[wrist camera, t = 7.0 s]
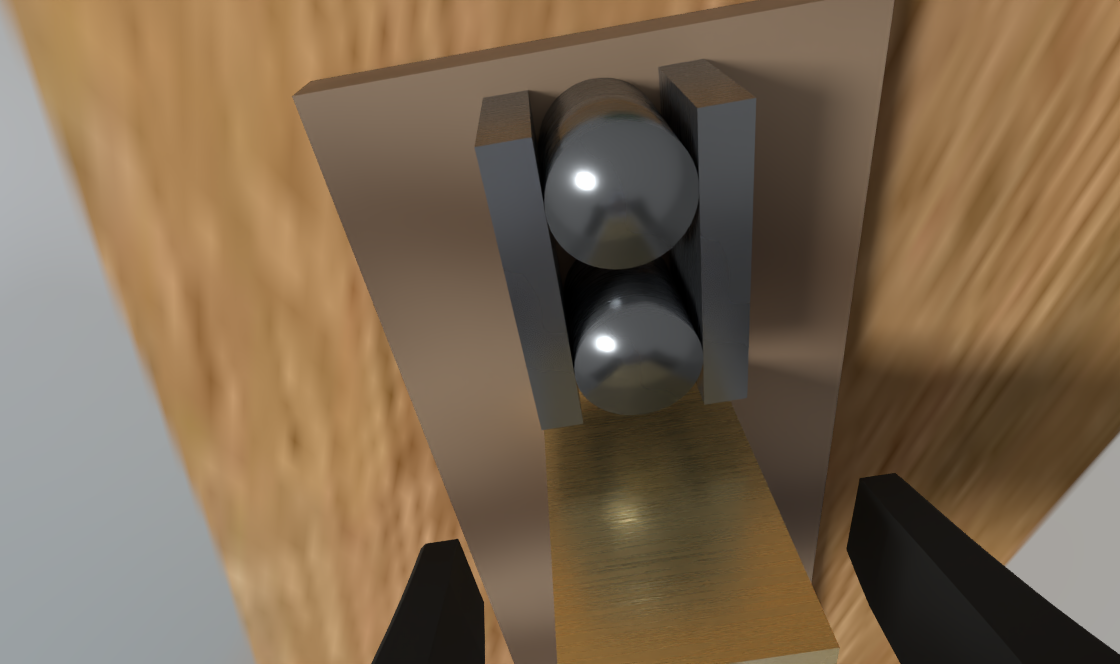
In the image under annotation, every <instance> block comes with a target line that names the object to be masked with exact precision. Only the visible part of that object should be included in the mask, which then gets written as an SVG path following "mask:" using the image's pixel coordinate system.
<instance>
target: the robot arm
mask: <svg viewBox="0 0 1120 664" xmlns="http://www.w3.org/2000/svg"><path fill="white" fill-rule="evenodd" d="M847 552H848V554H849V557H850V560H851V562H852V565H853V567H854V570H855V572H856V575H857V577H858V580H859V582H860V584H861V587H862V589H863V592H864V594H865V596H866V599H867V601H868V603H869V606H870V608H871V610H872V612H873V613H874V615H875V617H876V619H877V621H878V623H879V625H880V627H881V628H882V630H883V632H884V634H885V636H886V638H887V640H888V641H889V643H890V645H891V647H892V649H893V651H894V652H895V654H896V656H897V658H898V660H899V662H900V663H901V664H1120V654H1118V653H1117V652H1116V651H1114V650H1113V649H1111V648H1110V647H1109V646H1107V645H1106V644H1105V643H1103V642H1102V641H1100V640H1099V639H1098V638H1096V637H1095V636H1094V635H1092V634H1091V633H1090V632H1088V631H1087V630H1086V629H1084V628H1083V627H1082V626H1080V625H1079V624H1077V623H1076V622H1075V621H1074V620H1072V619H1071V618H1070V617H1068V616H1067V615H1065V614H1064V613H1063V612H1062V611H1060V610H1059V609H1057V608H1056V607H1055V606H1053V605H1052V604H1051V603H1050V602H1048V601H1047V600H1046V599H1045V598H1043V597H1042V596H1041V595H1040V594H1038V593H1037V592H1035V590H1033V589H1032V588H1031V587H1029V586H1028V585H1027V584H1026V583H1024V582H1023V581H1022V580H1021V579H1020V578H1018V577H1017V576H1016V575H1014V573H1012V572H1011V571H1010V570H1009V569H1007V568H1006V567H1005V566H1004V565H1002V564H1001V563H1000V562H999V561H997V560H996V559H995V558H994V557H993V556H991V555H990V554H989V553H988V552H987V551H985V550H984V549H983V548H982V547H981V546H979V545H978V544H977V543H976V542H975V541H973V540H972V539H971V538H970V537H969V536H968V535H966V534H965V533H964V532H963V531H962V530H961V529H959V528H958V527H957V526H956V525H955V524H954V523H952V522H951V521H950V520H949V519H948V518H947V517H945V516H944V515H943V514H942V513H941V512H940V511H939V510H937V509H936V508H935V507H934V506H933V505H932V504H931V503H929V502H928V501H927V500H926V499H925V498H924V497H923V496H921V495H920V494H919V493H918V492H917V491H916V490H915V489H913V488H912V487H911V486H910V485H909V484H908V483H907V482H905V481H904V480H903V479H902V478H901V477H900V476H898V475H897V474H896V473H892V474H885V475H878V476H872V477H865V478H860V480H859V486H858V491H857V496H856V501H855V507H854V512H853V517H852V522H851V528H850V533H849V538H848V544H847ZM371 664H485V628H484V601H483V599H482V597H481V594H480V592H479V589H478V587H477V584H476V582H475V579H474V577H473V574H472V572H471V569H470V567H469V564H468V562H467V559H466V557H465V554H464V552H463V549H462V547H461V544H460V542H459V539H454V540H448V541H441V542H434V543H428V544H425V545H424V546H423V547H422V548H421V550H420V553H419V555H418V558H417V561H416V563H415V566H414V568H413V571H412V573H411V576H410V578H409V581H408V583H407V586H406V588H405V590H404V593H403V595H402V598H401V600H400V602H399V605H398V607H397V609H396V611H395V614H394V616H393V618H392V620H391V623H390V625H389V627H388V629H387V632H386V634H385V636H384V638H383V640H382V642H381V644H380V646H379V649H378V651H377V653H376V655H375V657H374V659H373V661H372V663H371Z"/></svg>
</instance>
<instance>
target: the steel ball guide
mask: <svg viewBox="0 0 1120 664" xmlns="http://www.w3.org/2000/svg"><path fill="white" fill-rule="evenodd" d="M658 74H659V91H660V108H661V114H660V113H659V112H658V110H657V109H656V108H655V106H654V105H653V103H652V102H651V101H650V100H649V98H648V97H647V96H646V95H645V94H644V93H643V92H642V91H641V90H639V89H638V88H637V87H635V86H634V85H632V84H630V83H628V82H625V81H622V80H619V79H614V78H603V77H601V78H592V79H588V80H584V81H582V82H579V83H577V84H575V85H573V86H571V87H570V88H568V89H567V90H565V91H564V92H563V93H561V94H560V95H559V96H558V97H557V98H556V99H555V101H554V102H553V103H552V104H551V106H550V107H549V109H548V110H547V112H546V114H545V116H544V118H543V121H542V124H541V127H540V132H539V142H538V144H537V138H536V132H535V127H534V121H533V115H532V110H531V104H530V98H529V93H528V90H525V91H519V92H513V93H508V94H502V95H497V96H491V97H485V98H483V100H482V106H481V112H480V118H479V123H478V129H477V135H476V140H475V146H474V148H475V152H476V157H477V161H478V165H479V169H480V173H481V178H482V182H483V186H484V190H485V194H486V199H487V203H488V207H489V211H490V216H491V220H492V224H493V228H494V232H495V237H496V241H497V245H498V249H499V253H500V258H501V262H502V266H503V270H504V275H505V279H506V283H507V287H508V291H509V296H510V300H511V304H512V308H513V312H514V317H515V321H516V325H517V329H518V334H519V338H520V342H521V346H522V350H523V355H524V359H525V363H526V367H527V371H528V376H529V380H530V384H531V388H532V393H533V397H534V401H535V405H536V409H537V414H538V418H539V422H540V426H541V430H547V429H553V428H559V427H566V426H572V425H579V424H583V417H582V409H581V402H580V395H579V389H580V391H581V392H582V394H583V395H584V396H585V397H586V399H587V400H589V401H590V402H591V403H592V404H594V405H595V406H597V407H598V408H601V409H603V410H605V411H608V412H611V413H615V414H620V415H642V414H647V413H652V412H655V411H659V410H661V409H664V408H666V407H668V406H670V405H672V404H674V403H675V402H677V401H678V400H679V399H681V398H682V397H683V396H684V395H686V394H687V393H688V391H689V390H690V389H691V388H692V387H693V385H694V384H695V383H696V384H697V387H698V389H699V392H700V394H701V397H702V400H703V402H704V405H706V404H712V403H719V402H725V401H732V400H738V399H744V398H747V392H748V358H749V324H750V291H751V257H752V223H753V190H754V156H755V122H756V97H754V96H753V95H752V94H750V93H749V92H748V91H746V90H745V89H744V88H743V87H741V86H740V85H739V84H737V83H736V82H735V81H733V80H732V79H731V78H729V77H728V76H727V75H725V74H724V73H723V72H721V71H720V70H719V69H717V68H716V67H715V66H713V65H712V64H711V63H709V62H708V61H707V60H705V59H699V60H693V61H688V62H682V63H676V64H671V65H665V66H660V67H658ZM538 147H539V149H538ZM554 237H555V239H556V240H557V241H558V243H559V244H560V245H561V247H563V248H564V249H565V250H566V251H567V252H568V253H569V254H570V255H572V256H573V257H574V258H576V261H575V262H574V263H573V265H572V266H571V267H570V269H569V271H568V273H567V276H566V279H565V284H564V291H563V285H562V280H561V274H560V268H559V263H558V257H557V251H556V246H555V240H554ZM668 250H669V264H670V271H669V269H668V267H667V265H666V263H665V261H664V260H663V258H662V257H661V256H662V255H663V254H665V253H666V252H667V251H668ZM564 296H565V297H564Z"/></svg>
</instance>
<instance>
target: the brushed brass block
mask: <svg viewBox="0 0 1120 664" xmlns="http://www.w3.org/2000/svg"><path fill="white" fill-rule="evenodd" d="M579 395H580V402H581V409H582V417H583V424H579V425H572V426H566V427H559V428H553V429H547V430H544V437H545V455H546V472H547V490H548V508H549V525H550V543H551V560H552V578H553V596H554V613H555V631H556V649H557V664H836V663H837V658H838V654H839V649H840V647H839V645H838V643H837V641H836V638H835V636H834V634H833V632H832V629H831V627H830V625H829V623H828V620H827V618H826V616H825V614H824V611H823V609H822V607H821V605H820V602H819V600H818V598H817V595H816V593H815V591H814V589H813V586H812V584H811V582H810V580H809V577H808V575H807V573H806V571H805V568H804V566H803V564H802V562H801V559H800V557H799V555H798V553H797V550H796V548H795V546H794V544H793V541H792V539H791V537H790V535H789V532H788V530H787V528H786V526H785V523H784V521H783V519H782V517H781V514H780V512H779V510H778V508H777V505H776V503H775V501H774V499H773V496H772V494H771V492H770V490H769V487H768V485H767V483H766V481H765V478H764V476H763V474H762V472H761V469H760V467H759V465H758V463H757V460H756V458H755V456H754V453H753V451H752V449H751V447H750V444H749V442H748V440H747V438H746V435H745V433H744V431H743V429H742V426H741V424H740V422H739V420H738V417H737V415H736V413H735V411H734V408H733V406H732V404H731V402H730V401H725V402H719V403H712V404H706V405H704V402H703V400H702V397H701V394H700V392H699V389H698V387H697V384H696V383H695V384H694V385H693V387H692V388H691V389H690V390H689V391H688V393H687V394H686V395H684V396H683V397H682V398H681V399H679V400H678V401H677V402H675V403H674V404H672V405H670V406H668V407H666V408H664V409H661V410H659V411H655V412H652V413H647V414H642V415H620V414H615V413H611V412H608V411H605V410H603V409H601V408H598V407H597V406H595V405H594V404H592V403H591V402H590V401H589V400H587V399H586V397H585V396H584V395H583V394H582V392H581V391H580V389H579Z"/></svg>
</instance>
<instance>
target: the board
mask: <svg viewBox="0 0 1120 664" xmlns="http://www.w3.org/2000/svg"><path fill="white" fill-rule="evenodd" d="M893 7H894V0H757V1H752V2H746V3H741V4H735V5H730V6H724V7H718V8H713V9H707V10H702V11H696V12H691V13H685V14H680V15H674V16H669V17H663V18H658V19H652V20H647V21H641V22H636V23H630V24H625V25H619V26H613V27H608V28H602V29H597V30H591V31H586V32H580V33H575V34H569V35H564V36H558V37H553V38H547V39H542V40H536V41H531V42H525V43H520V44H514V45H509V46H503V47H497V48H492V49H486V50H481V51H475V52H470V53H464V54H459V55H453V56H448V57H442V58H437V59H431V60H426V61H420V62H415V63H409V64H404V65H398V66H392V67H387V68H381V69H376V70H370V71H365V72H359V73H354V74H348V75H343V76H337V77H332V78H326V79H321V80H315V81H310V82H309V83H308V84H307V85H306V86H304V87H303V88H302V89H301V90H299V91H298V92H297V93H296V94H294V95H293V96H292V97H293V100H294V102H295V105H296V107H297V110H298V112H299V115H300V117H301V120H302V123H303V125H304V128H305V130H306V133H307V135H308V138H309V140H310V143H311V146H312V148H313V151H314V153H315V156H316V158H317V161H318V163H319V166H320V169H321V171H322V174H323V176H324V179H325V181H326V184H327V186H328V189H329V192H330V194H331V197H332V199H333V202H334V204H335V207H336V209H337V212H338V215H339V217H340V220H341V222H342V225H343V227H344V230H345V232H346V235H347V237H348V240H349V243H350V245H351V248H352V250H353V253H354V255H355V258H356V260H357V263H358V266H359V268H360V271H361V273H362V276H363V278H364V281H365V283H366V286H367V289H368V291H369V294H370V296H371V299H372V301H373V304H374V306H375V309H376V312H377V314H378V317H379V319H380V322H381V324H382V327H383V329H384V332H385V335H386V337H387V340H388V342H389V345H390V347H391V350H392V352H393V355H394V357H395V360H396V363H397V365H398V368H399V370H400V373H401V375H402V378H403V380H404V383H405V386H406V388H407V391H408V393H409V396H410V398H411V401H412V403H413V406H414V409H415V411H416V414H417V416H418V419H419V421H420V424H421V426H422V429H423V432H424V434H425V437H426V439H427V442H428V444H429V447H430V449H431V452H432V455H433V457H434V460H435V462H436V465H437V467H438V470H439V472H440V475H441V477H442V480H443V483H444V485H445V488H446V490H447V493H448V495H449V498H450V500H451V503H452V506H453V508H454V511H455V513H456V516H457V518H458V521H459V523H460V526H461V529H462V531H463V534H464V536H465V539H466V541H467V544H468V546H469V549H470V552H471V554H472V557H473V559H474V562H475V564H476V567H477V569H478V572H479V575H480V577H481V580H482V582H483V585H484V587H485V590H486V592H487V595H488V597H489V600H490V603H491V605H492V608H493V610H494V613H495V615H496V618H497V620H498V623H499V626H500V628H501V631H502V633H503V636H504V638H505V641H506V643H507V646H508V649H509V651H510V654H511V656H512V659H513V661H514V664H557V649H556V631H555V613H554V596H553V578H552V560H551V543H550V525H549V508H548V490H547V472H546V455H545V437H544V430H541V426H540V422H539V418H538V414H537V409H536V405H535V401H534V397H533V393H532V388H531V384H530V380H529V376H528V371H527V367H526V363H525V359H524V355H523V350H522V346H521V342H520V338H519V334H518V329H517V325H516V321H515V317H514V312H513V308H512V304H511V300H510V296H509V291H508V287H507V283H506V279H505V275H504V270H503V266H502V262H501V258H500V253H499V249H498V245H497V241H496V237H495V232H494V228H493V224H492V220H491V216H490V211H489V207H488V203H487V199H486V194H485V190H484V186H483V182H482V178H481V173H480V169H479V165H478V161H477V157H476V152H475V148H474V146H475V140H476V135H477V129H478V123H479V118H480V112H481V106H482V100H483V98H485V97H491V96H497V95H502V94H508V93H513V92H519V91H525V90H528V93H529V98H530V104H531V110H532V115H533V121H534V127H535V132H536V138H537V144H538V142H539V132H540V127H541V124H542V121H543V118H544V116H545V114H546V112H547V110H548V109H549V107H550V106H551V104H552V103H553V102H554V101H555V99H556V98H557V97H558V96H559V95H560V94H561V93H563V92H564V91H565V90H567V89H568V88H570V87H571V86H573V85H575V84H577V83H579V82H582V81H584V80H588V79H592V78H601V77H603V78H614V79H619V80H622V81H625V82H628V83H630V84H632V85H634V86H635V87H637V88H638V89H639V90H641V91H642V92H643V93H644V94H645V95H646V96H647V97H648V98H649V100H650V101H651V102H652V103H653V105H654V106H655V108H656V109H657V110H658V112H659V113H660V114H661V108H660V91H659V74H658V67H660V66H665V65H671V64H676V63H682V62H688V61H693V60H699V59H705V60H707V61H708V62H709V63H711V64H712V65H713V66H715V67H716V68H717V69H719V70H720V71H721V72H723V73H724V74H725V75H727V76H728V77H729V78H731V79H732V80H733V81H735V82H736V83H737V84H739V85H740V86H741V87H743V88H744V89H745V90H746V91H748V92H749V93H750V94H752V95H753V96H754V97H756V122H755V156H754V190H753V223H752V257H751V291H750V324H749V358H748V392H747V398H744V399H738V400H732V401H730V402H731V404H732V406H733V408H734V411H735V413H736V415H737V417H738V420H739V422H740V424H741V426H742V429H743V431H744V433H745V435H746V438H747V440H748V442H749V444H750V447H751V449H752V451H753V453H754V456H755V458H756V460H757V463H758V465H759V467H760V469H761V472H762V474H763V476H764V478H765V481H766V483H767V485H768V487H769V490H770V492H771V494H772V496H773V499H774V501H775V503H776V505H777V508H778V510H779V512H780V514H781V517H782V519H783V521H784V523H785V526H786V528H787V530H788V532H789V535H790V537H791V539H792V541H793V544H794V546H795V548H796V550H797V553H798V555H799V557H800V559H801V562H802V564H803V566H804V568H805V571H806V573H807V575H808V577H809V580H810V582H812V575H813V568H814V561H815V554H816V547H817V540H818V533H819V526H820V519H821V512H822V505H823V498H824V491H825V484H826V477H827V470H828V462H829V455H830V448H831V441H832V434H833V427H834V420H835V413H836V406H837V399H838V392H839V385H840V378H841V371H842V364H843V357H844V350H845V343H846V336H847V329H848V322H849V315H850V308H851V301H852V294H853V287H854V280H855V273H856V266H857V259H858V252H859V245H860V238H861V231H862V224H863V217H864V210H865V203H866V196H867V189H868V182H869V175H870V168H871V161H872V154H873V147H874V140H875V133H876V126H877V119H878V112H879V105H880V98H881V91H882V84H883V77H884V70H885V63H886V56H887V49H888V42H889V35H890V28H891V21H892V14H893ZM538 149H539V147H538ZM554 240H555V246H556V251H557V257H558V263H559V268H560V274H561V280H562V285H563V291H564V284H565V279H566V276H567V273H568V271H569V269H570V267H571V266H572V265H573V263H574V262H575V261H576V258H574V257H573V256H572V255H570V254H569V253H568V252H567V251H566V250H565V249H564V248H563V247H561V245H560V244H559V243H558V241H557V240H556V239H555V237H554ZM661 257H662V258H663V260H664V261H665V263H666V265H667V267H668V269H669V271H670V264H669V250H668V251H667V252H666V253H665V254H663V255H662V256H661ZM564 297H565V296H564Z"/></svg>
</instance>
